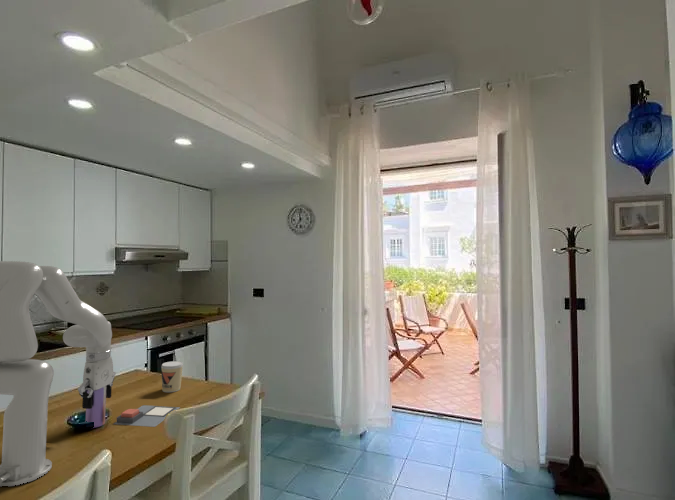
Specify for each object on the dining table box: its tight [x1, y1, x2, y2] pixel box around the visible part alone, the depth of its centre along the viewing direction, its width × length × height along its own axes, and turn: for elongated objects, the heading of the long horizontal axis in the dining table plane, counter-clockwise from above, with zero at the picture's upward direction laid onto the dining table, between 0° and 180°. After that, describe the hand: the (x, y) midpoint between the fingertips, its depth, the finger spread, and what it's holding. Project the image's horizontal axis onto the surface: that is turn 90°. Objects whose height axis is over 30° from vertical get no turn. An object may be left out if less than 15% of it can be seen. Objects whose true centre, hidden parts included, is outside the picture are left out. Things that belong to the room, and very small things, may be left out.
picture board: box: [113, 405, 181, 428], centre depth 144 cm, size 18×16×3 cm
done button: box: [120, 408, 139, 418], centre depth 140 cm, size 4×4×2 cm
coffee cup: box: [160, 360, 184, 393], centre depth 176 cm, size 9×9×12 cm
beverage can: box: [85, 385, 107, 429], centre depth 136 cm, size 6×6×15 cm
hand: (97, 402), depth 136 cm, fingers open, 9 cm apart
